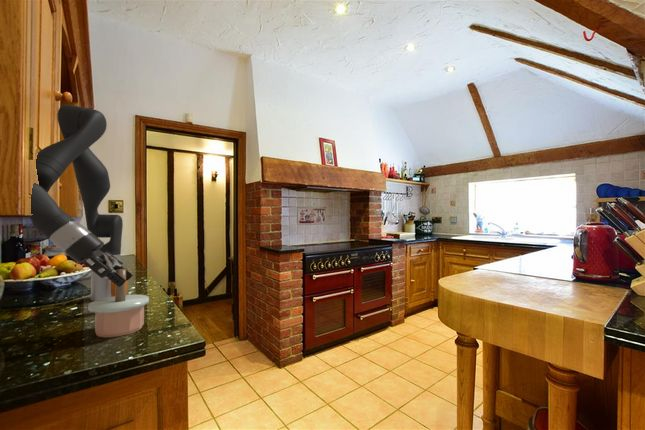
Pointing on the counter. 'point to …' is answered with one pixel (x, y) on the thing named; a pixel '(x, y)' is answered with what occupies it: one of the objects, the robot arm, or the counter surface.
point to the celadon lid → (118, 300)
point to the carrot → (114, 287)
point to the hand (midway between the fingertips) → (126, 281)
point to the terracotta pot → (119, 322)
